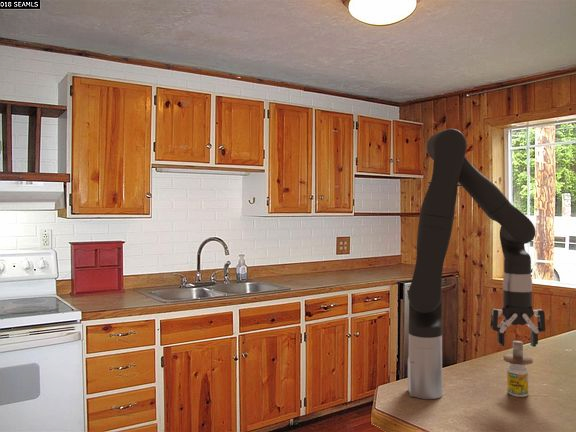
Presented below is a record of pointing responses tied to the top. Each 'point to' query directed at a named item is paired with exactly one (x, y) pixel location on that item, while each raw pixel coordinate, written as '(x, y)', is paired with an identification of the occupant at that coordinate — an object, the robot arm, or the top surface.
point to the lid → (518, 355)
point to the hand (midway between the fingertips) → (517, 345)
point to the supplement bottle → (517, 380)
